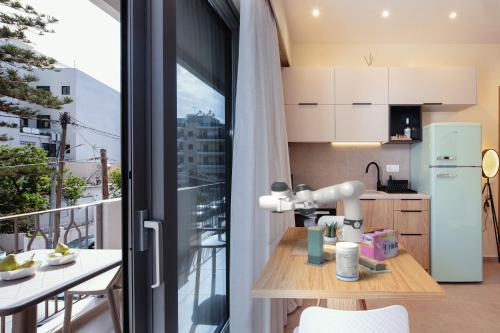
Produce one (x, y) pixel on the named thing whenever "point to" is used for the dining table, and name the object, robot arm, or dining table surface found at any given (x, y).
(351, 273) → the supplement tub
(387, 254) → the gum box
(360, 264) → the grey layered block
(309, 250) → the tea tin
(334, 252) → the beige square bowl
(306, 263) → the coaster
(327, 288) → the dining table surface
